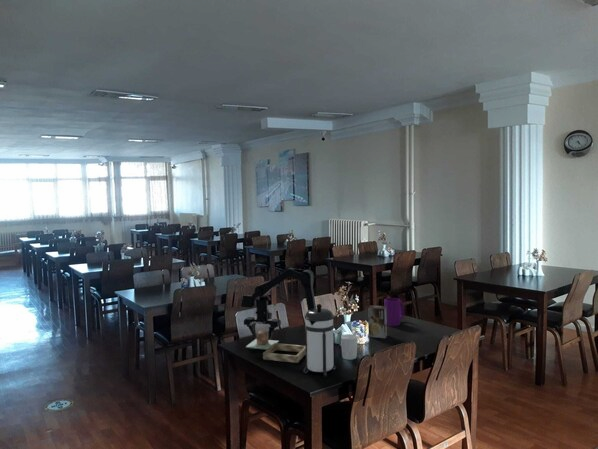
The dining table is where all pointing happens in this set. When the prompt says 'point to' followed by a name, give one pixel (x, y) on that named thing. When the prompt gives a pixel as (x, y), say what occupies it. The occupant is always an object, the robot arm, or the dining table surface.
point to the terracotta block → (262, 338)
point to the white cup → (349, 346)
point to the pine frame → (283, 357)
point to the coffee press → (319, 340)
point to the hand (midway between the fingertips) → (262, 338)
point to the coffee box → (377, 321)
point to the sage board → (254, 345)
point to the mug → (394, 311)
